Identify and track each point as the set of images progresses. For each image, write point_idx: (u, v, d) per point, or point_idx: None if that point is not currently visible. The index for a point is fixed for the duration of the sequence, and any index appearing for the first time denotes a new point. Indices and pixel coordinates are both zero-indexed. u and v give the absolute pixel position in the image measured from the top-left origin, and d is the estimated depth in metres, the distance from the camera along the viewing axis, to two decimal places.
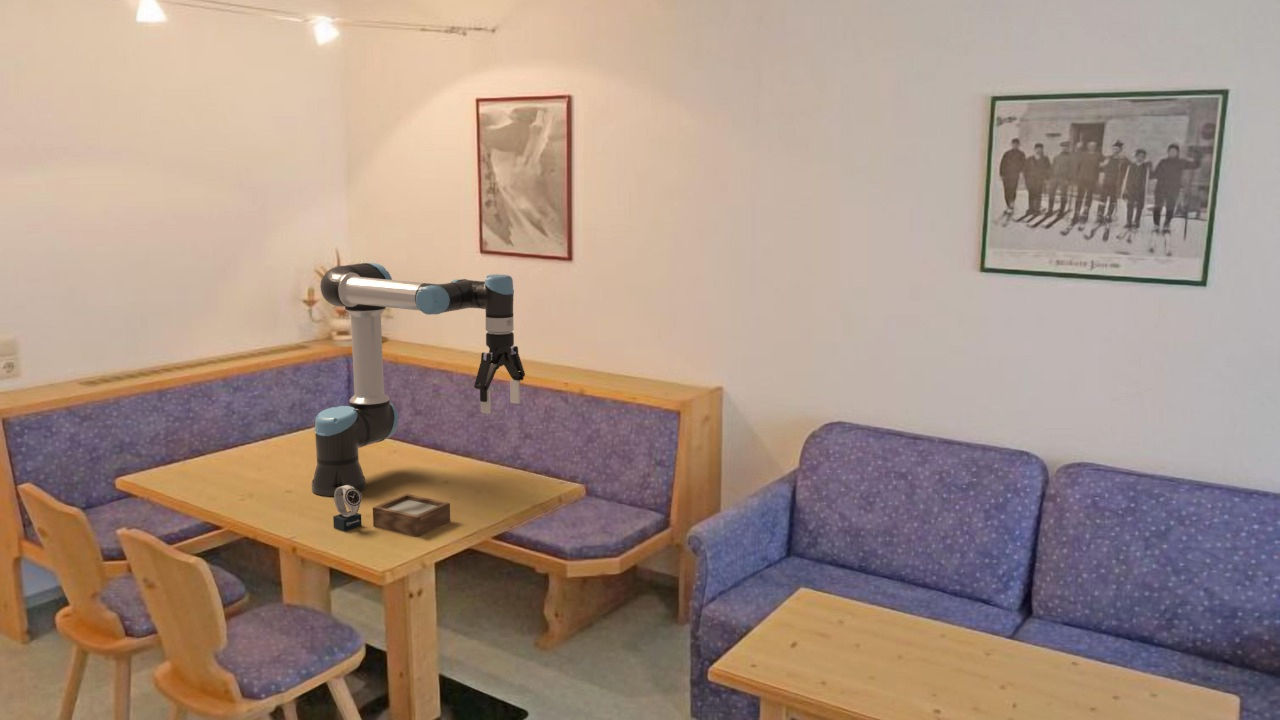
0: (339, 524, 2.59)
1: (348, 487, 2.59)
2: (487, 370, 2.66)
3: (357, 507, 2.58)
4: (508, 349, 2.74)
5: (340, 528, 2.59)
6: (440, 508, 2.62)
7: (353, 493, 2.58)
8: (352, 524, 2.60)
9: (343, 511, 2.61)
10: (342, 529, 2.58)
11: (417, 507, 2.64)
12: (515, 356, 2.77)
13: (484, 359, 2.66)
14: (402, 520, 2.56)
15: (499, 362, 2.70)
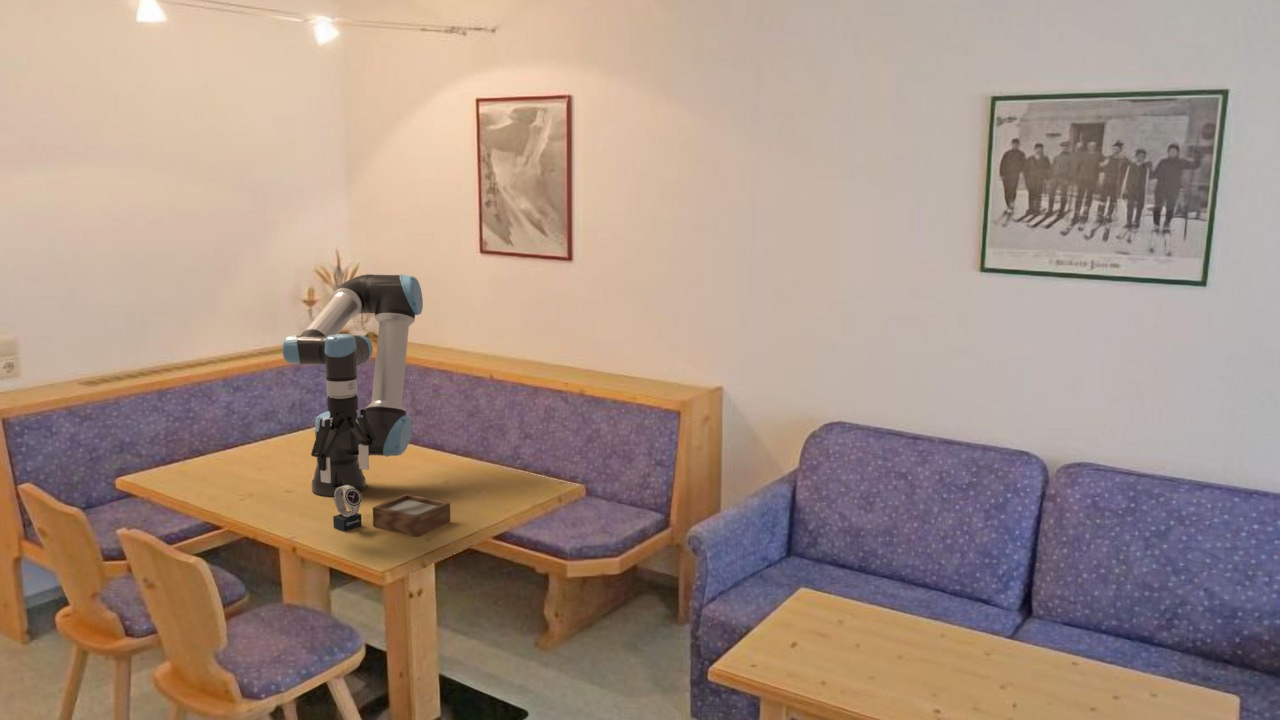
0: (339, 524, 2.59)
1: (348, 487, 2.59)
2: (325, 437, 2.49)
3: (357, 507, 2.58)
4: (353, 413, 2.57)
5: (340, 528, 2.59)
6: (440, 508, 2.62)
7: (353, 493, 2.58)
8: (352, 524, 2.60)
9: (343, 511, 2.61)
10: (342, 529, 2.58)
11: (417, 507, 2.64)
12: (362, 420, 2.61)
13: (322, 425, 2.50)
14: (402, 520, 2.56)
15: (340, 428, 2.53)
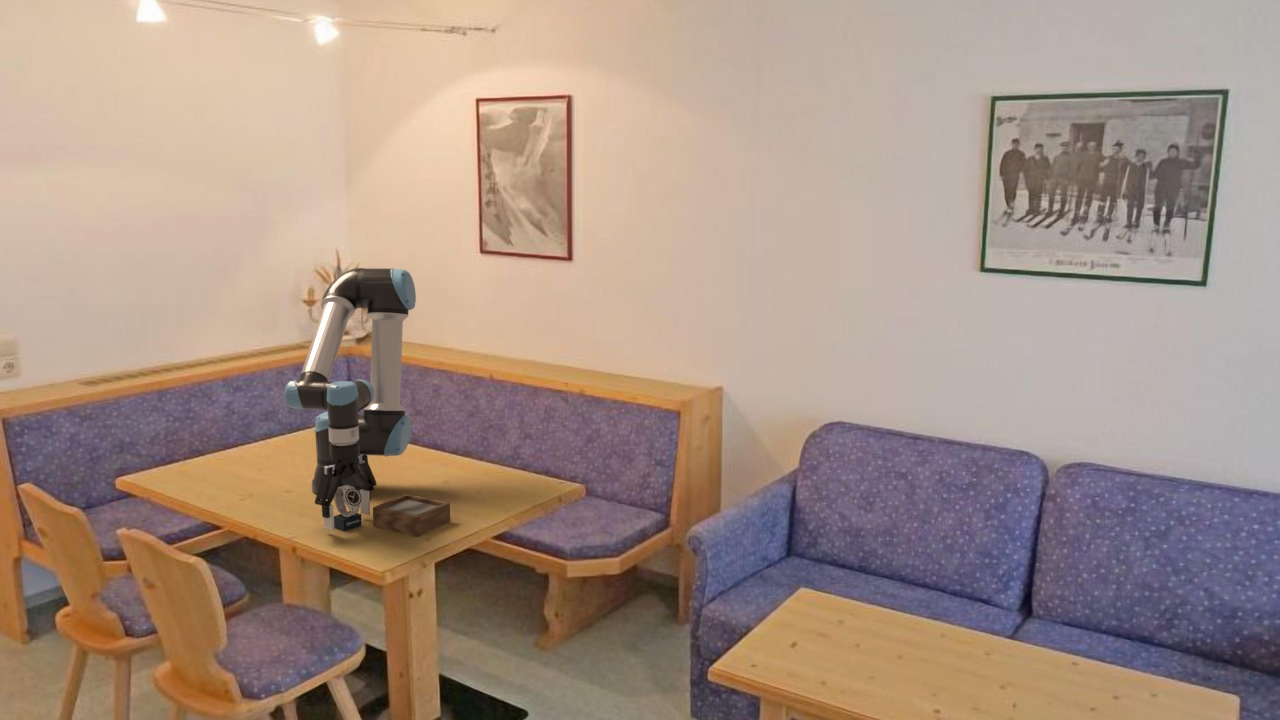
0: (339, 524, 2.59)
1: (348, 487, 2.59)
2: (328, 485, 2.52)
3: (357, 507, 2.58)
4: (355, 459, 2.59)
5: (340, 528, 2.59)
6: (440, 508, 2.62)
7: (353, 493, 2.58)
8: (352, 524, 2.60)
9: (343, 511, 2.61)
10: (342, 529, 2.58)
11: (417, 507, 2.64)
12: (364, 465, 2.63)
13: (325, 473, 2.52)
14: (402, 520, 2.56)
15: (343, 474, 2.55)
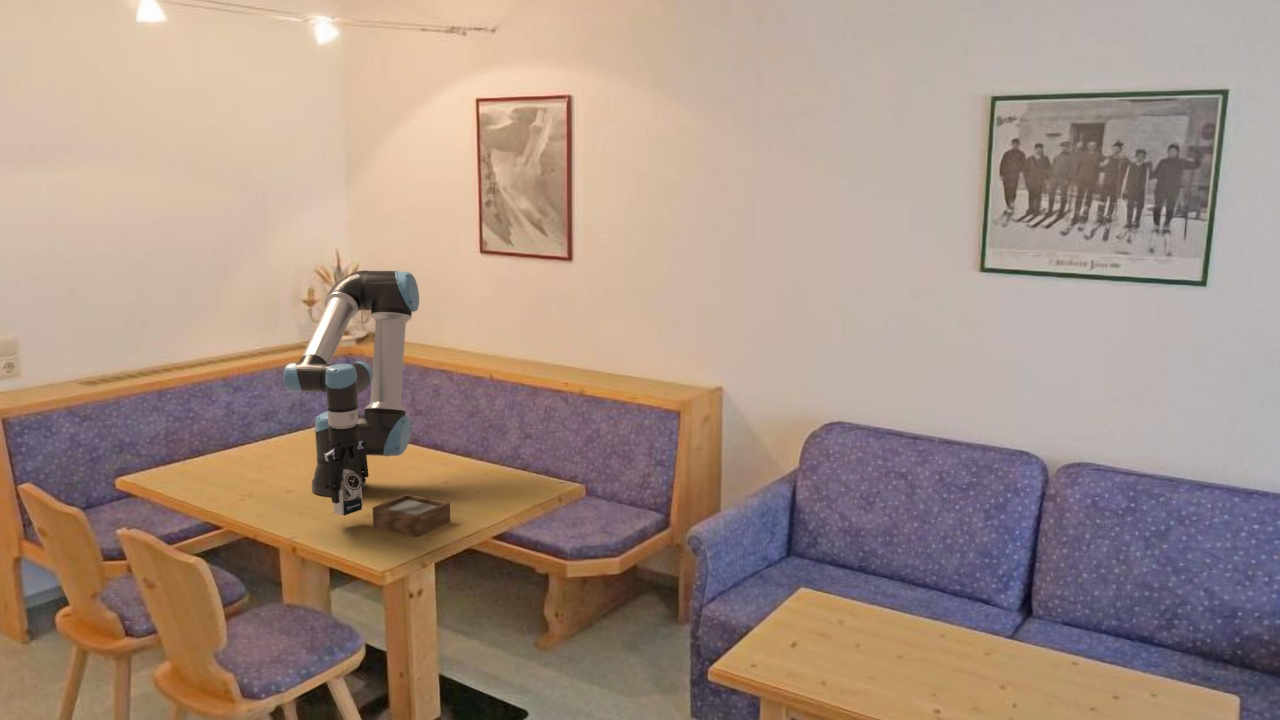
0: None
1: (348, 471, 2.59)
2: (333, 471, 2.53)
3: (357, 491, 2.58)
4: (355, 440, 2.59)
5: None
6: (440, 508, 2.62)
7: (353, 478, 2.58)
8: (352, 508, 2.60)
9: (343, 495, 2.61)
10: None
11: (417, 507, 2.64)
12: (361, 452, 2.62)
13: (326, 460, 2.52)
14: (402, 520, 2.56)
15: (344, 458, 2.55)
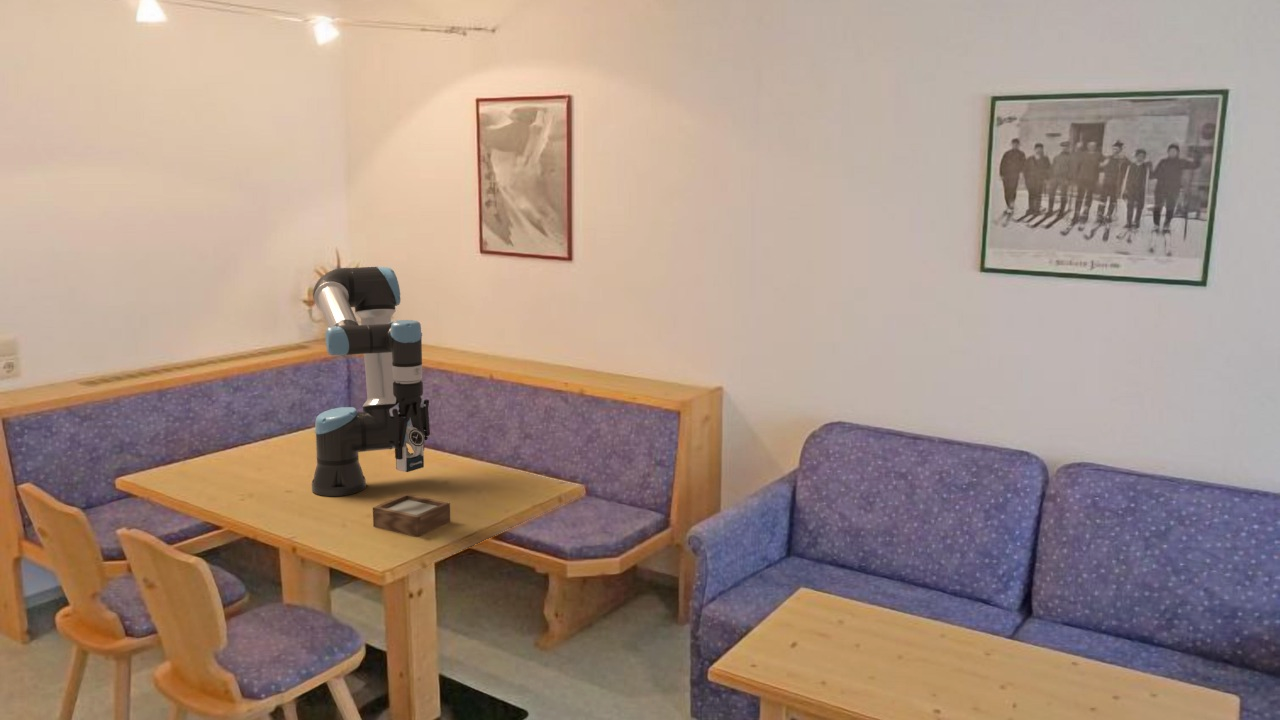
0: None
1: (411, 428, 2.59)
2: (397, 426, 2.53)
3: (420, 448, 2.58)
4: (418, 397, 2.59)
5: None
6: (440, 508, 2.62)
7: (417, 434, 2.58)
8: (415, 465, 2.59)
9: (406, 453, 2.61)
10: None
11: (417, 507, 2.64)
12: (424, 410, 2.62)
13: (391, 415, 2.53)
14: (402, 520, 2.56)
15: (408, 414, 2.56)
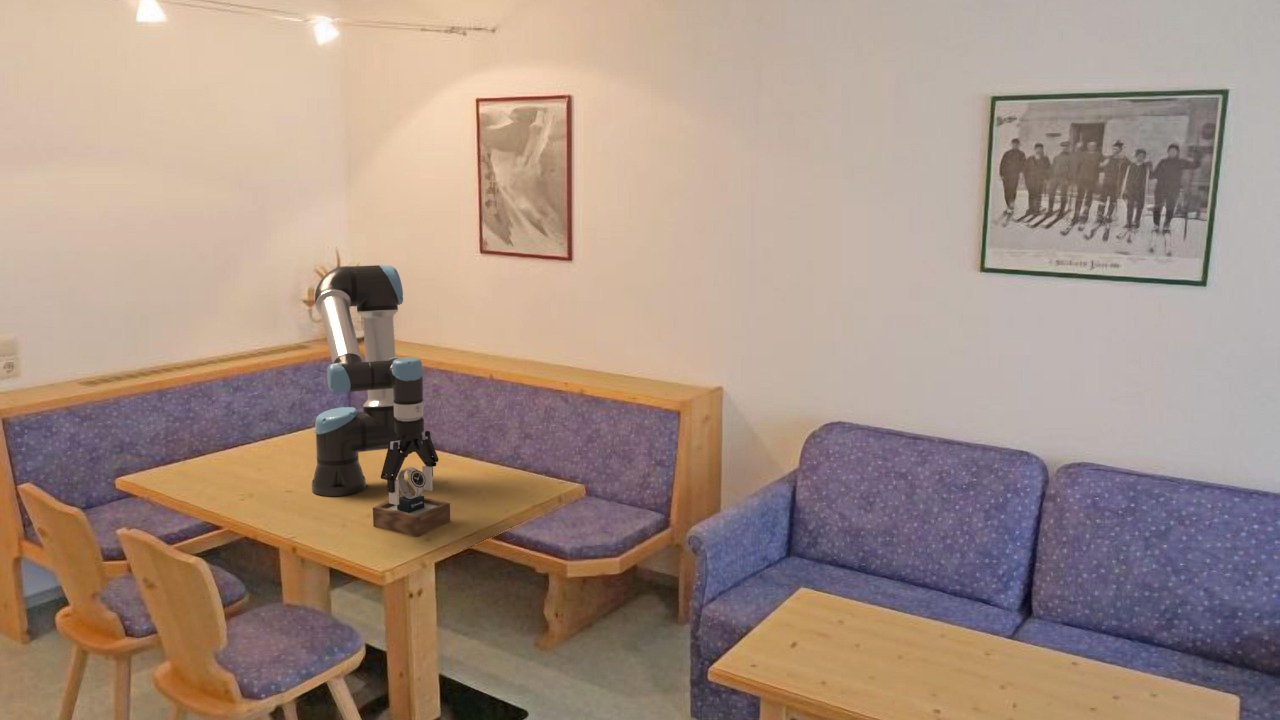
0: (403, 506, 2.60)
1: (412, 469, 2.61)
2: (394, 460, 2.53)
3: (422, 489, 2.60)
4: (418, 435, 2.61)
5: (404, 510, 2.60)
6: (440, 508, 2.62)
7: (418, 475, 2.60)
8: (416, 506, 2.62)
9: (407, 493, 2.63)
10: (407, 511, 2.60)
11: None
12: (427, 441, 2.65)
13: (391, 448, 2.54)
14: (402, 520, 2.56)
15: (408, 450, 2.57)
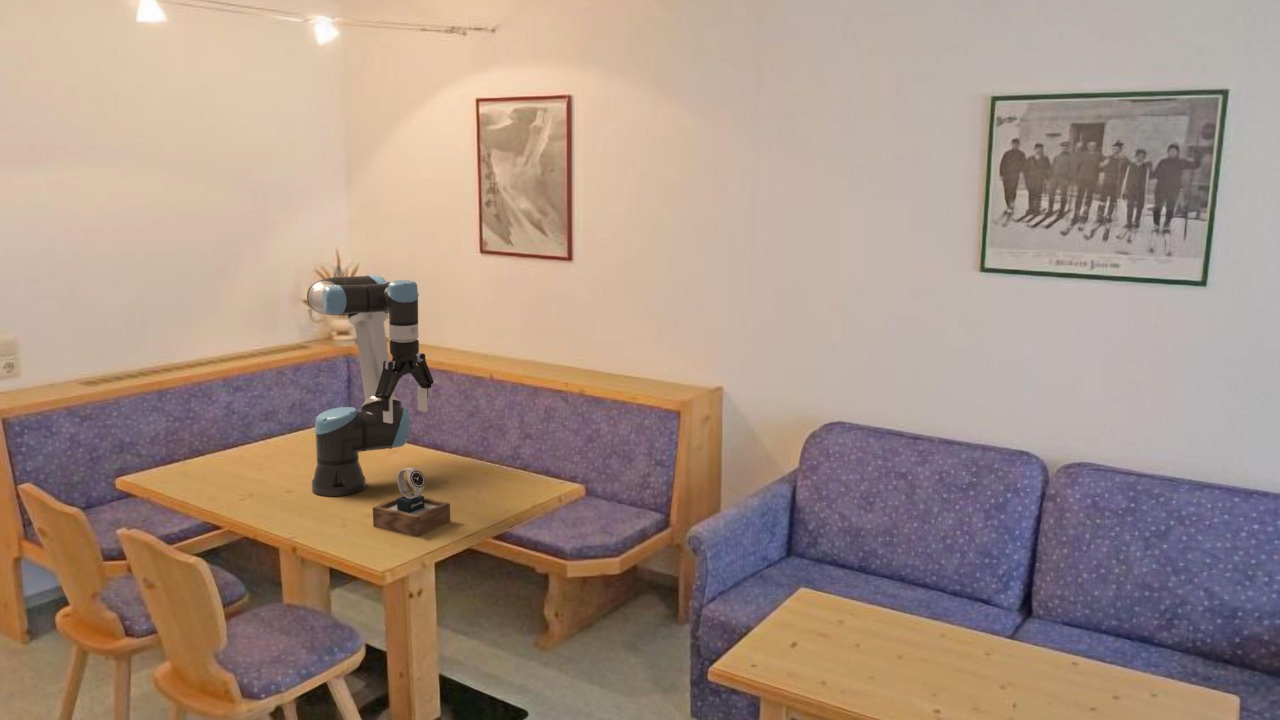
0: (403, 506, 2.60)
1: (412, 469, 2.61)
2: (388, 379, 2.59)
3: (421, 489, 2.60)
4: (413, 357, 2.66)
5: (404, 510, 2.60)
6: (440, 508, 2.62)
7: (418, 475, 2.60)
8: (416, 506, 2.62)
9: (406, 493, 2.63)
10: (407, 511, 2.60)
11: None
12: (422, 363, 2.70)
13: (386, 368, 2.59)
14: (402, 520, 2.56)
15: (402, 371, 2.62)
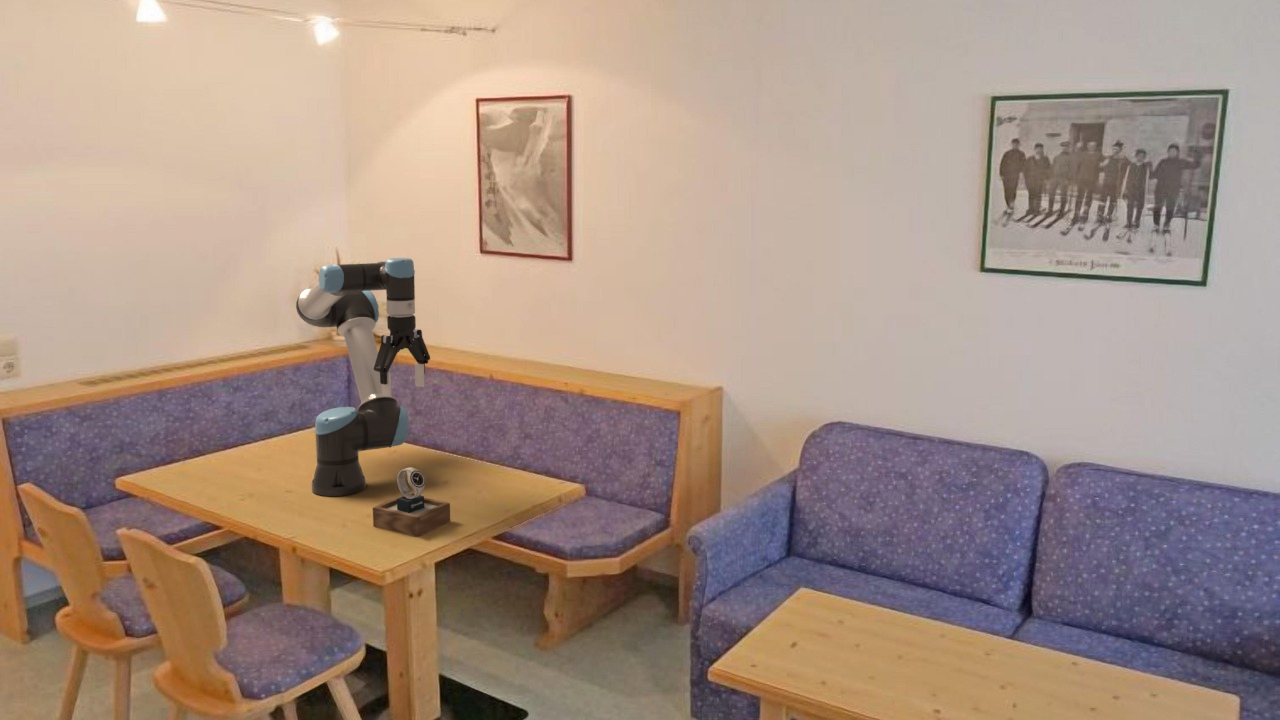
0: (403, 506, 2.60)
1: (412, 469, 2.61)
2: (386, 353, 2.67)
3: (421, 489, 2.60)
4: (410, 332, 2.75)
5: (404, 510, 2.60)
6: (440, 508, 2.62)
7: (418, 475, 2.60)
8: (416, 506, 2.62)
9: (406, 493, 2.63)
10: (407, 511, 2.60)
11: None
12: (419, 339, 2.79)
13: (384, 342, 2.68)
14: (402, 520, 2.56)
15: (400, 345, 2.71)
